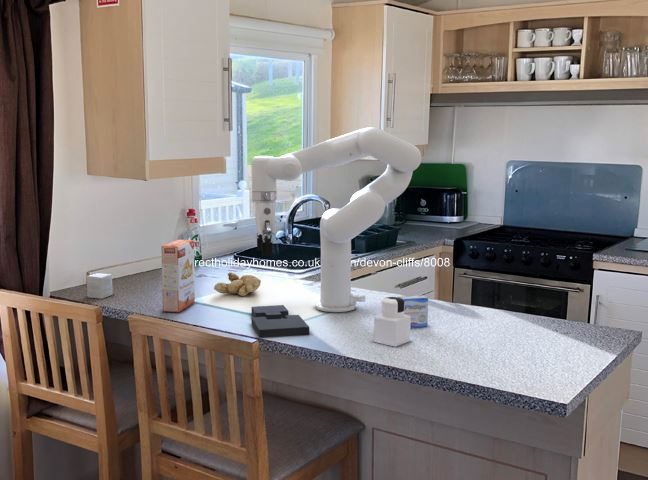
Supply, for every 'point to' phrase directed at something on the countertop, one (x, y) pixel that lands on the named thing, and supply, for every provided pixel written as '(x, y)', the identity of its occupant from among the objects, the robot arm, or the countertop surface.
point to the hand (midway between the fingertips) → (264, 252)
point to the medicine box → (416, 310)
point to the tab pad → (270, 311)
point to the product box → (99, 285)
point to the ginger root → (238, 285)
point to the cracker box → (178, 275)
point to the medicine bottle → (392, 323)
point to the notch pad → (280, 326)
